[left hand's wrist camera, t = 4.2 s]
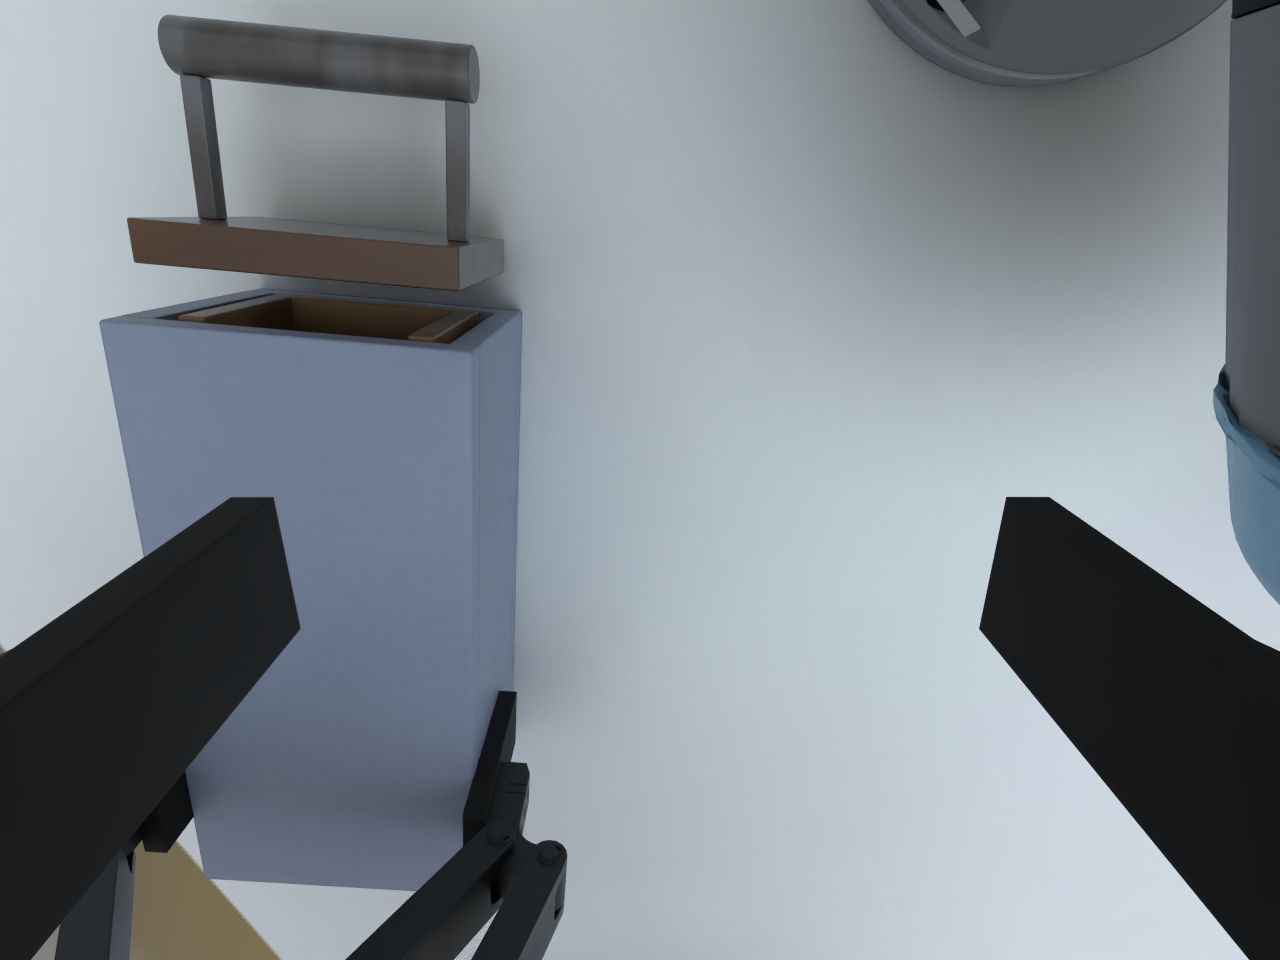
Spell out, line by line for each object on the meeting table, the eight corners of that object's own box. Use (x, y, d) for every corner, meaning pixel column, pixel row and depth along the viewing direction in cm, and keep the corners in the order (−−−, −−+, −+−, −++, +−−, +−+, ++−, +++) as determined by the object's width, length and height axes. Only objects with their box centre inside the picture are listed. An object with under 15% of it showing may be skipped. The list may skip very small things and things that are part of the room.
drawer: (237, 46, 24) (86, -17, 17) (506, 72, 24) (457, 20, 17) (303, 670, 33) (220, 782, 26) (497, 684, 33) (462, 798, 27)
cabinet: (260, 288, 27) (96, 319, 19) (522, 310, 28) (472, 351, 19) (306, 722, 35) (204, 879, 27) (511, 736, 35) (472, 895, 27)
